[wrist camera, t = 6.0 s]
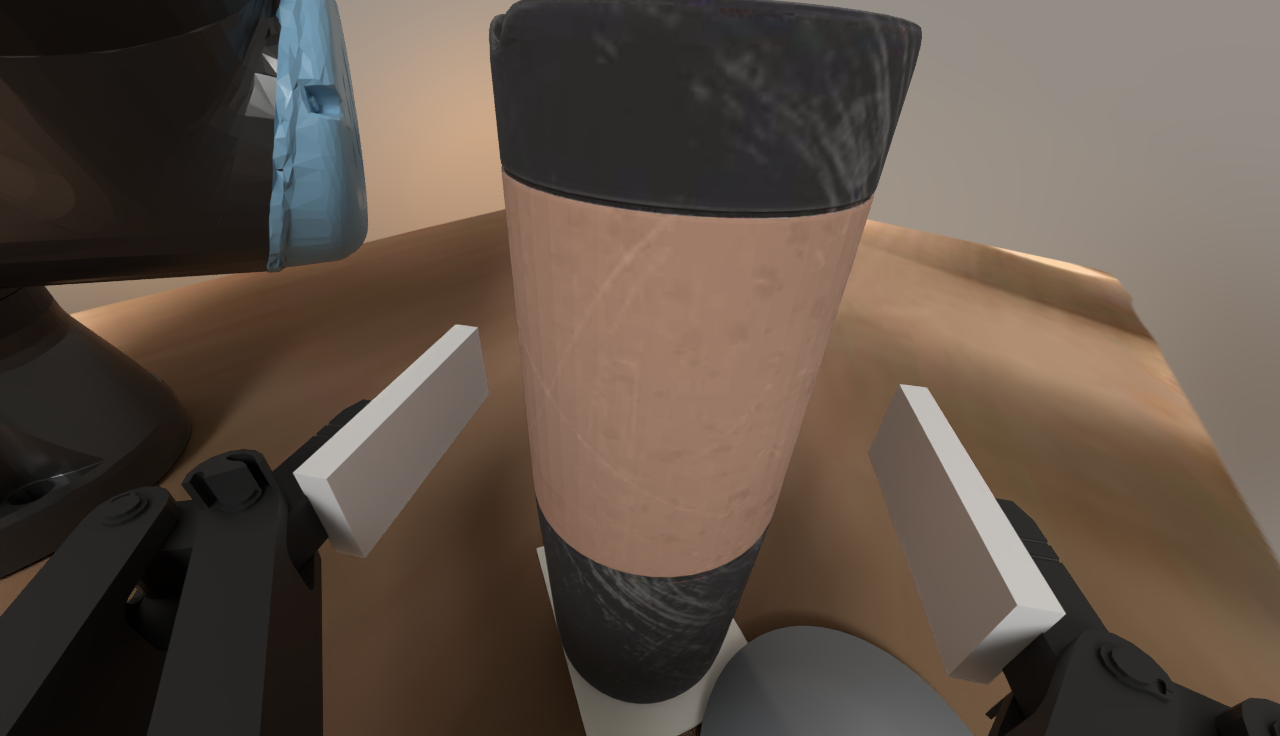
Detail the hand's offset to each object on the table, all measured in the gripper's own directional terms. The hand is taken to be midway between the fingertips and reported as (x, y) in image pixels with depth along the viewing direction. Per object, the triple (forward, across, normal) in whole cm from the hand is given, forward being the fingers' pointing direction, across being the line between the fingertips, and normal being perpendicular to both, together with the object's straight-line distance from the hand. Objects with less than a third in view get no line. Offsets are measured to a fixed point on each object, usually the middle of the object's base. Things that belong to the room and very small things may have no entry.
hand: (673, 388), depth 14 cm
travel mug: (-1, 0, -11) cm, 11 cm away
